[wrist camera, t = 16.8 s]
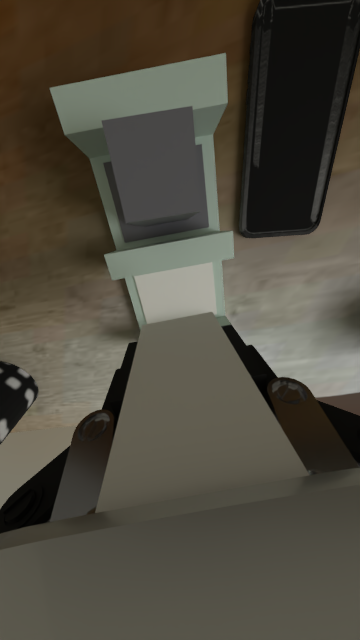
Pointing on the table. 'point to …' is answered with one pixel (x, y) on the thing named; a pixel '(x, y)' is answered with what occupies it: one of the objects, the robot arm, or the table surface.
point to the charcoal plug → (155, 165)
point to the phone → (295, 111)
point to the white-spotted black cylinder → (14, 396)
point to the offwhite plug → (191, 421)
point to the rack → (169, 238)
